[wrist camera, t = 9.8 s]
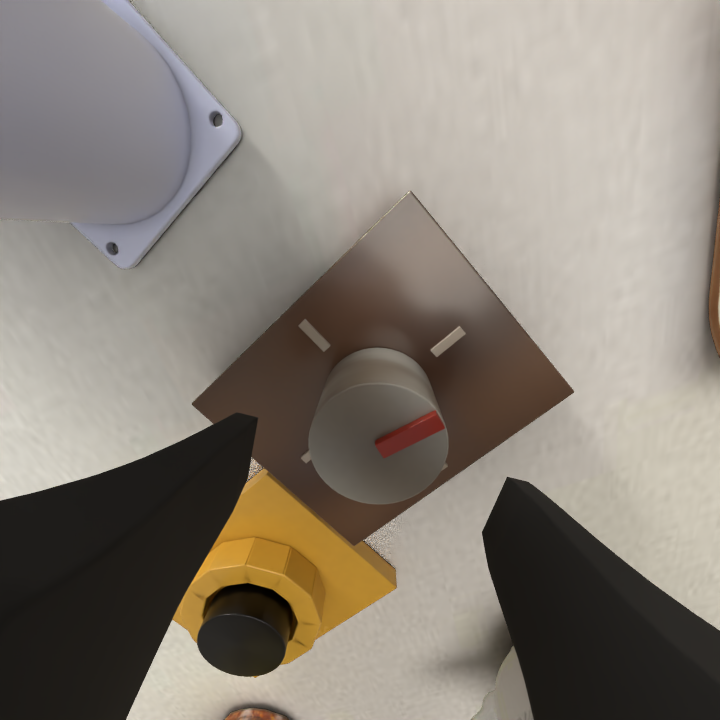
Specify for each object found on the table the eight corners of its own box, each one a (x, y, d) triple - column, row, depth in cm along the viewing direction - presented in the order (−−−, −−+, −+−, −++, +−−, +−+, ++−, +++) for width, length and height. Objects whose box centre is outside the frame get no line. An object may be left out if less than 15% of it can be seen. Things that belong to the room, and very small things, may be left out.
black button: (194, 608, 20) (178, 642, 18) (248, 568, 19) (236, 600, 17) (255, 652, 21) (245, 688, 19) (310, 616, 20) (304, 651, 18)
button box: (140, 571, 23) (107, 619, 20) (272, 460, 20) (255, 498, 17) (260, 658, 25) (245, 713, 22) (396, 569, 22) (399, 620, 19)
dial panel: (219, 378, 18) (188, 406, 15) (404, 197, 15) (410, 189, 12) (356, 503, 20) (353, 549, 17) (542, 366, 17) (577, 394, 14)
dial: (359, 462, 16) (354, 531, 12) (302, 381, 15) (277, 429, 11) (451, 416, 15) (475, 475, 11) (398, 326, 14) (406, 359, 10)
